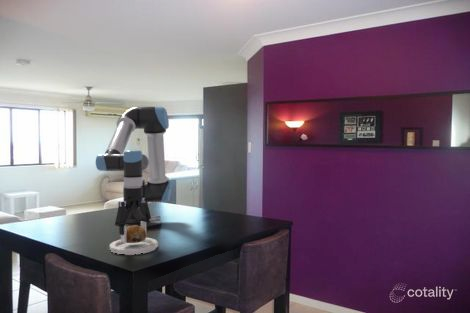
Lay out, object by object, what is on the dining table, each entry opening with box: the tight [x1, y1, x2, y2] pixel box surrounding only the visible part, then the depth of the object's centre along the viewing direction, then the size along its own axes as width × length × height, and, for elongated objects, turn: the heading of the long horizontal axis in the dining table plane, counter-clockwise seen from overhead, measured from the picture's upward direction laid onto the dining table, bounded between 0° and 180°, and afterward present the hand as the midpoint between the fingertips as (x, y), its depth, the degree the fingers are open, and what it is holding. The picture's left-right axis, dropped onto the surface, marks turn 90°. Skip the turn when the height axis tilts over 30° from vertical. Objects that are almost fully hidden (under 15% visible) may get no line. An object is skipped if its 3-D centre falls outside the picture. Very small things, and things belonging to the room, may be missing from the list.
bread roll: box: [126, 224, 147, 243], centre depth 155 cm, size 10×10×8 cm
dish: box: [109, 236, 159, 256], centre depth 155 cm, size 19×19×2 cm
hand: (133, 239), depth 155 cm, fingers closed on bread roll, 10 cm apart
